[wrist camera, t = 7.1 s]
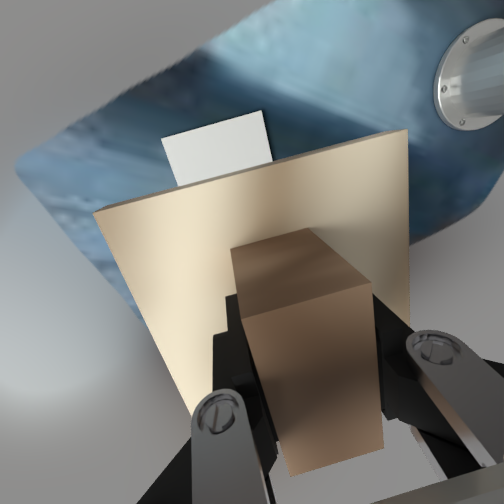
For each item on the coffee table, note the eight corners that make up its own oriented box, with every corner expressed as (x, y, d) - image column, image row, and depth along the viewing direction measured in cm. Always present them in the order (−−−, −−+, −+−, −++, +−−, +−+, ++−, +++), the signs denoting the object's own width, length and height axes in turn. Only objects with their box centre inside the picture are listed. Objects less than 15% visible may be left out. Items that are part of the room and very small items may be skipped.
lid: (386, 131, 10) (562, 113, 5) (395, 347, 14) (496, 458, 9) (106, 205, 10) (-12, 268, 5) (198, 405, 14) (189, 554, 9)
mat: (260, 111, 34) (261, 110, 33) (282, 208, 39) (283, 208, 38) (161, 139, 34) (160, 138, 33) (196, 233, 39) (196, 234, 38)
